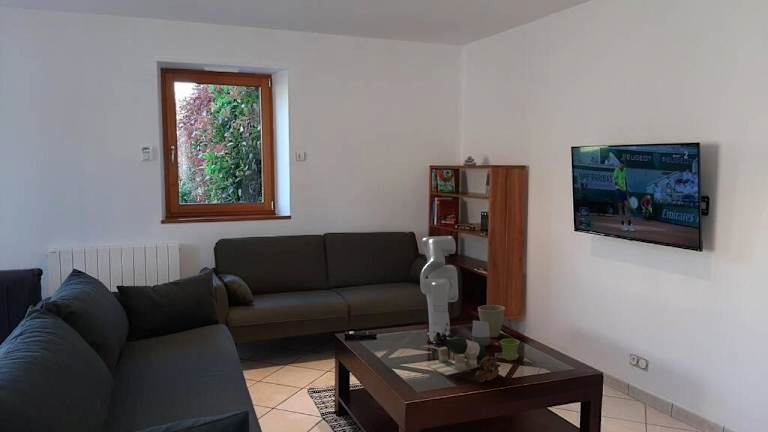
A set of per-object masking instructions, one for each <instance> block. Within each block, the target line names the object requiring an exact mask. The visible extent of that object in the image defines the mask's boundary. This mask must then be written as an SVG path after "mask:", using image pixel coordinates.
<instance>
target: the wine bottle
mask: <svg viewBox="0 0 768 432" xmlns="http://www.w3.org/2000/svg"><path fill="white" fill-rule="evenodd" d="M433 341H434V342H436V343H439V344H441V337H440V336H434V337H433ZM446 347H447V348H448V350H449V352H450V351H451V352H453V353H456V354H464V355H465V358H467V352H470V351H475V352H476V354H477V361H481V360H482V359H483V358H485V357H486V352H487V350H486V346H484V345H482V344H479V343H476V342H473V340H469V339H465V338H463V337H459V336H453V337H451V338H449V339H447V346H446Z"/></svg>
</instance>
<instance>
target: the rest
mask: <svg viewBox="0 0 768 432" xmlns="http://www.w3.org/2000/svg"><path fill="white" fill-rule="evenodd" d="M437 351H438V352H437V353H438V355H437V356H438V362H434V363H430V364H427V365H426V367H427V366H428V367H427V368H430V369H432V370H433V371H436V372H438V373H440V374H442V375H444V376H446V375H447V376H450V375H454V374H457V373H462V372H465V371H469V370H472V369H477V368H480V367H479V363H478V360H477V354H476V352H475V351H470V352H467V357H466V356H465V355H464V354H456V353H453V352H451V351H450V350H449V348H448V346H446V347H438V348H437Z"/></svg>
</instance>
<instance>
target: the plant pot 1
mask: <svg viewBox="0 0 768 432" xmlns="http://www.w3.org/2000/svg"><path fill="white" fill-rule="evenodd" d="M477 311H478V317H479V321H481V322H487V323H488V325H489V332H490V338H498V337H499V336H500V333H501V330H502V327H503V323H504V318H505V317H504V316H505V307H504V306H502V305H495V304H490V305H489V304H487V305H486V304H485V305H481V306H478V307H477Z"/></svg>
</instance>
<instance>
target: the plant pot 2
mask: <svg viewBox="0 0 768 432" xmlns="http://www.w3.org/2000/svg"><path fill="white" fill-rule="evenodd" d="M499 342H500V345H501V348H502V354H503V359H505V361H513V360H514V361H515V360H517V357H518V350H519V345H520V340H518V339H514V338H503V339H501V340H499Z"/></svg>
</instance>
